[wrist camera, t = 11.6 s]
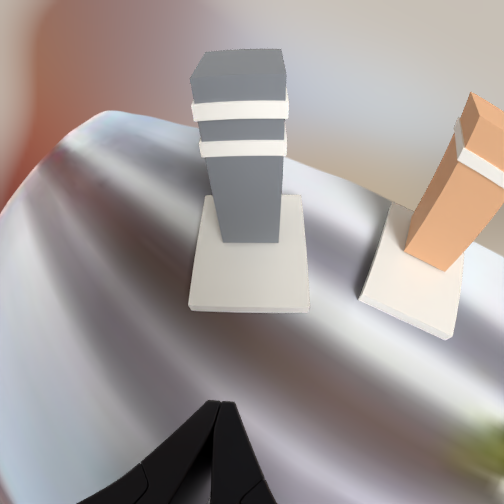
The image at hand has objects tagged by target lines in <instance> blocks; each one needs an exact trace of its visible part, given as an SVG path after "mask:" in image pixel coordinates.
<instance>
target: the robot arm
mask: <svg viewBox="0 0 504 504" xmlns="http://www.w3.org/2000/svg"><path fill="white" fill-rule="evenodd" d="M210 493H211V496H210ZM209 497H210V504H277V503H276V501H275V499H274V497H273V495H272V493H271V491H270V489H269V487H268V484H267V482H266V480H265V478H264V475H263V473H262V471H261V468H260V466H259V463H258V461H257V458H256V456H255V454H254V451H253V449H252V446H251V444H250V441H249V438H248V436H247V433H246V431H245V428H244V425H243V423H242V420H241V417H240V415H239V412H238V409H237V407H236V404H235V402H230V401H222V402H220V401H215V400H208V401H206V402H205V403H204V404H203V405H202V406H201V407H200V408H199V409H198V410H197V411H196V412H195V413H194V414H193V415H192V416H191V417H190V418H189V419H188V420H187V421H186V422H185V423H184V424H183V425H181V426H180V427H179V428H178V429H177V430H176V431H175V432H174V433H173V434H172V435H171V436H170V437H168V438H167V439H166V440H165V441H164V442H163V443H162V444H161V445H160V446H158V447H157V448H156V449H155V450H154V451H153V452H152V453H151V454H149V455H148V456H147V457H146V458H145V459H144V460H142V461H141V463H139V464H138V465H136V466H135V467H134V468H133V469H132V470H130V471H129V472H128V473H126V474H125V475H124V476H122V477H121V478H120V479H118V480H117V481H115V482H114V483H112V484H111V485H109V486H107V487H106V488H104V489H102V490H101V491H99V492H97V493H95V494H94V495H92V496H90V497H88V498H86V499H84V500H83V501H81V502H79V503H77V504H208V500H209Z"/></svg>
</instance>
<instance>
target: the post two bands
mask: <svg viewBox="0 0 504 504" xmlns="http://www.w3.org/2000/svg"><path fill="white" fill-rule="evenodd" d="M190 82H191V88H192V93H193V99H194V100H193V102H192V105H191V108H192V113H193V118H194V122H195V121H198V125H199V130H200V136H201V138H200V141H199V148H200V152H201V157H205V161H206V166H207V171H208V175H209V180H210V185H211V190H212V195H213V199H214V204H215V209H216V213H217V218H218V223H219V227H220V232H221V236H222V241H223V243H279V229H280V213H281V195H282V177H283V156H286V152H287V136H286V127H285V119H288V112H289V100H288V94H287V89H286V70H285V65H284V60H283V56H282V51H281V49H239V50H223V51H212V52H205V54H204V56H203V57H202V59H201V60H200V62H199V64H198V66H197V67H196V69H195V70H194V72H193V74H192V76H191V77H190Z"/></svg>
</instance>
